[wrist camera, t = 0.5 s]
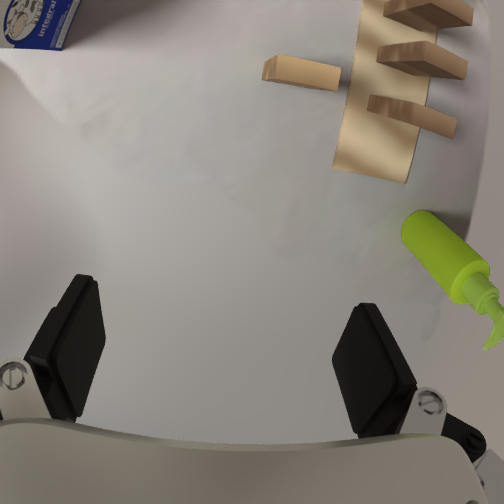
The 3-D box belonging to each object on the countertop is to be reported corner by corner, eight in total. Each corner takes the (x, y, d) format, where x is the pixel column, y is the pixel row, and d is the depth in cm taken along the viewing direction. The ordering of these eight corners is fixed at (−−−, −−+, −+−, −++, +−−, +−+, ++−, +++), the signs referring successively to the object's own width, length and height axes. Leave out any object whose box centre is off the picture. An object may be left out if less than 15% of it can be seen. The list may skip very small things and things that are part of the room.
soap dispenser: (398, 257, 43) (472, 359, 25) (403, 212, 39) (495, 306, 22) (431, 251, 43) (509, 343, 25) (437, 208, 39) (532, 292, 22)
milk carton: (39, -7, 21) (-75, -32, 4) (83, -3, 23) (-30, -45, 6) (20, 46, 24) (-104, 54, 7) (60, 52, 26) (-66, 54, 9)
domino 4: (369, 94, 31) (415, 102, 22) (406, 106, 32) (457, 119, 23) (366, 110, 32) (411, 124, 23) (403, 121, 33) (452, 139, 24)
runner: (369, -53, 22) (370, -54, 21) (439, -21, 23) (441, -22, 23) (332, 167, 36) (333, 168, 35) (403, 182, 37) (405, 183, 37)
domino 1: (264, 62, 29) (278, 54, 21) (311, 70, 30) (341, 68, 21) (261, 80, 30) (274, 78, 22) (308, 88, 31) (337, 91, 22)
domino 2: (384, 2, 25) (432, -15, 17) (421, 17, 26) (473, 8, 17) (382, 16, 26) (430, 2, 18) (419, 31, 27) (472, 25, 18)
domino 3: (378, 46, 28) (426, 40, 20) (415, 60, 29) (468, 61, 20) (375, 62, 29) (423, 60, 21) (412, 75, 30) (465, 80, 21)
